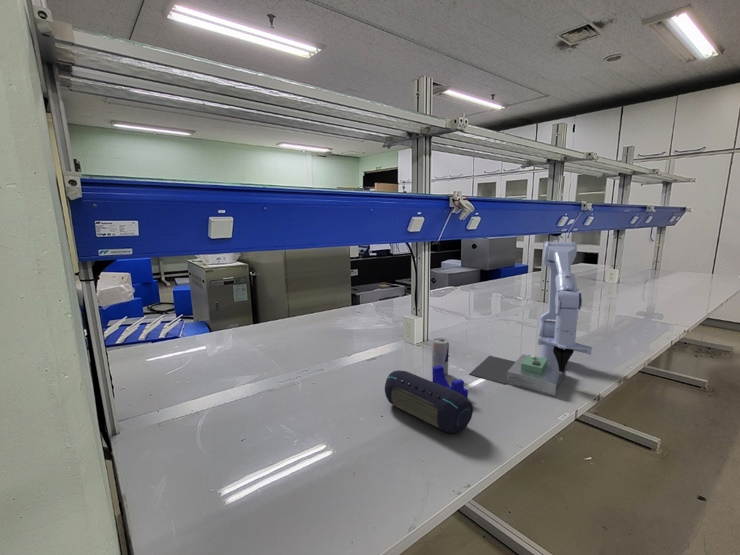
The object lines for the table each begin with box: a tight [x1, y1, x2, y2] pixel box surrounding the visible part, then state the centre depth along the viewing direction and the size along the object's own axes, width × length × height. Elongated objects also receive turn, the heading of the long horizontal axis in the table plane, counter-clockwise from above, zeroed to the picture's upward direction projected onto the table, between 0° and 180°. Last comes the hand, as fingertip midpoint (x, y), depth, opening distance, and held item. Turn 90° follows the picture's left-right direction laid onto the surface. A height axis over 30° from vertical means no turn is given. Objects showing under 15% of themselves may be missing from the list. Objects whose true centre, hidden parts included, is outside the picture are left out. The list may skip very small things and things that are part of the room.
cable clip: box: [432, 366, 469, 400], centre depth 107 cm, size 12×4×6 cm, turn 22°
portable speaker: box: [384, 370, 474, 434], centre depth 93 cm, size 25×10×10 cm, turn 44°
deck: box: [506, 354, 567, 397], centre depth 115 cm, size 18×14×4 cm
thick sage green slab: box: [521, 354, 548, 374], centre depth 115 cm, size 9×6×3 cm, turn 142°
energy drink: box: [431, 338, 450, 378], centre depth 118 cm, size 5×5×12 cm
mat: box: [468, 355, 516, 385], centre depth 123 cm, size 20×12×1 cm, turn 142°
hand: (561, 370), depth 110 cm, fingers closed
